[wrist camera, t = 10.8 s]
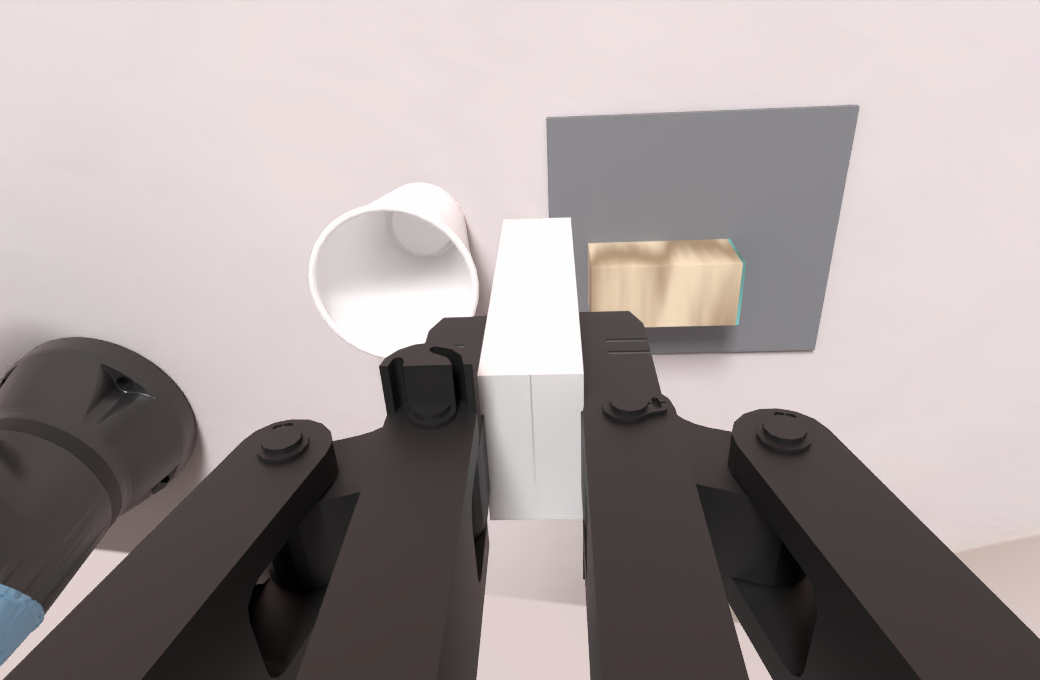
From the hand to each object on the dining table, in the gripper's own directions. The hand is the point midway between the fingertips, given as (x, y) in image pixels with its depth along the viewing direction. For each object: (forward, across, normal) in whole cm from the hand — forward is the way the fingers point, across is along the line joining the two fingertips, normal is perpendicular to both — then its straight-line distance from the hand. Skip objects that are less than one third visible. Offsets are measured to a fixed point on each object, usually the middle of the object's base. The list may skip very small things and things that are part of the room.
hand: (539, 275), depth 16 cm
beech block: (+30, +13, -14) cm, 35 cm away
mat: (+32, +10, -12) cm, 36 cm away
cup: (+33, -9, -10) cm, 35 cm away
